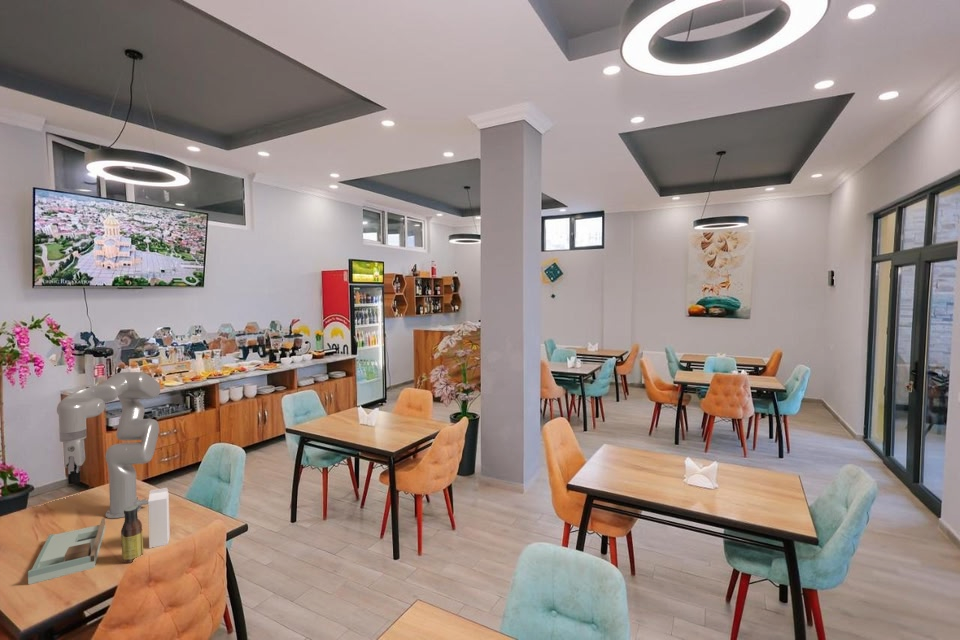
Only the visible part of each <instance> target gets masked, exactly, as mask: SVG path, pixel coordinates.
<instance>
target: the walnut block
mask: <svg viewBox="0 0 960 640" xmlns="http://www.w3.org/2000/svg"><path fill="white" fill-rule="evenodd" d="M90 554H91V542H90V543H86V544H81V545H76V546H72V547H69V548H68V550H67V552H66V554H65V561H69V560H74V559H78V558H82V557H86V556H90Z"/></svg>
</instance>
